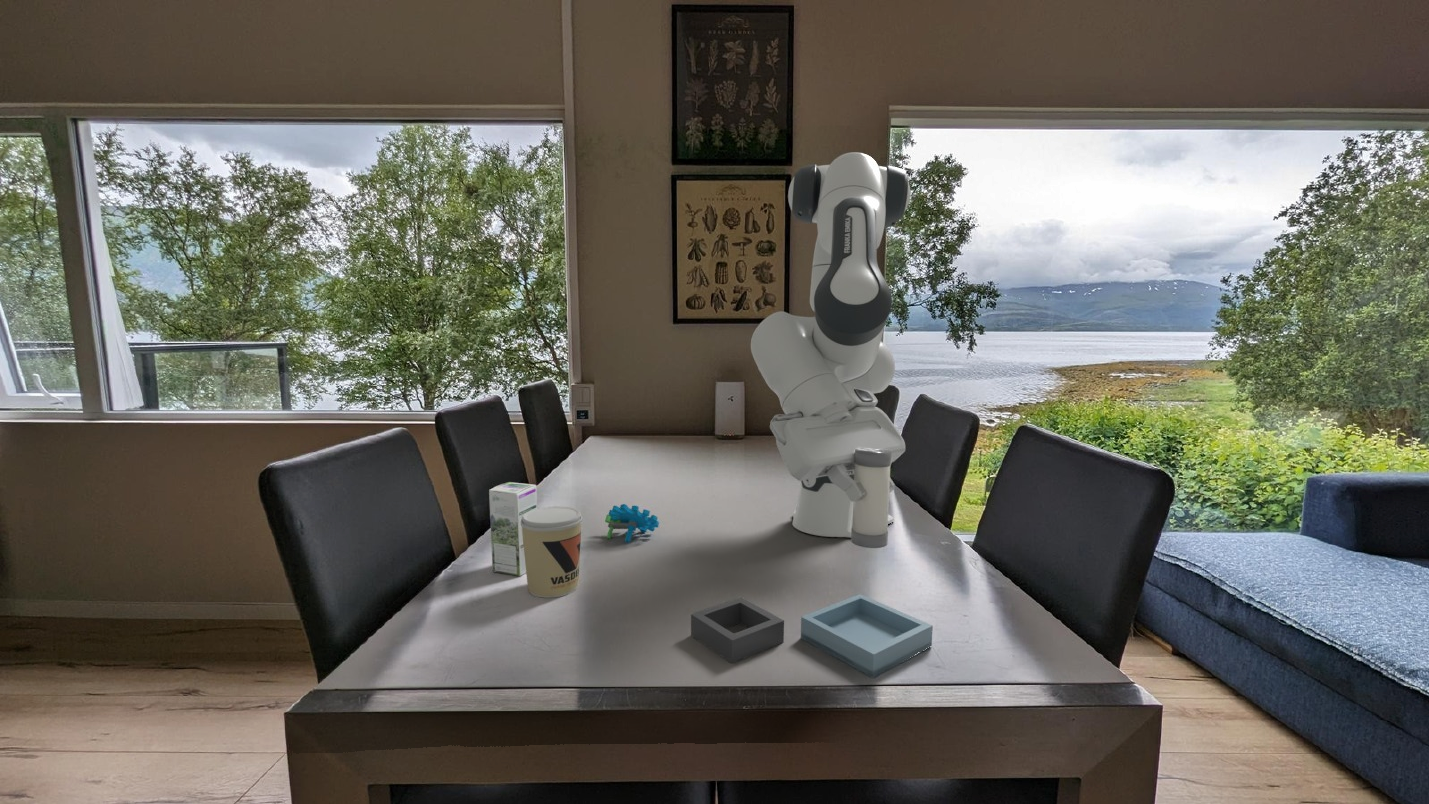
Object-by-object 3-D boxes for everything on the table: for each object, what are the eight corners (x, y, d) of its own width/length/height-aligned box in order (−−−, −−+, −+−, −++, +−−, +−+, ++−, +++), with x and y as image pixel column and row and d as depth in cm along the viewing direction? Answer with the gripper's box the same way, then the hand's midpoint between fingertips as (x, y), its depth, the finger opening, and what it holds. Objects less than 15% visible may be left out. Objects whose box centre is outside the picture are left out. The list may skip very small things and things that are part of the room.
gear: (668, 526, 125) (646, 500, 118) (661, 553, 122) (638, 528, 115) (620, 526, 130) (597, 501, 123) (612, 552, 126) (587, 529, 119)
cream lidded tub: (552, 605, 94) (550, 527, 92) (509, 591, 98) (507, 516, 97) (595, 584, 101) (594, 511, 100) (554, 571, 106) (552, 502, 105)
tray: (859, 613, 92) (859, 594, 91) (931, 647, 82) (932, 625, 82) (800, 638, 84) (801, 616, 84) (872, 678, 75) (873, 654, 75)
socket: (741, 617, 90) (741, 597, 90) (783, 642, 83) (784, 620, 83) (691, 635, 85) (691, 614, 85) (732, 663, 78) (732, 640, 78)
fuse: (866, 533, 85) (870, 446, 83) (894, 543, 81) (899, 451, 80) (843, 540, 82) (847, 450, 81) (872, 550, 78) (876, 456, 77)
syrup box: (540, 564, 109) (538, 483, 107) (519, 577, 104) (516, 491, 102) (512, 560, 111) (510, 480, 109) (490, 572, 105) (487, 488, 104)
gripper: (777, 400, 79) (833, 494, 72) (880, 392, 91) (936, 471, 84) (752, 431, 83) (804, 522, 76) (855, 418, 95) (906, 496, 88)
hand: (874, 495), depth 80 cm, fingers closed on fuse, 4 cm apart
